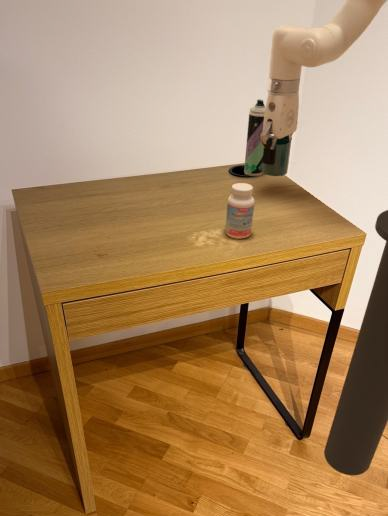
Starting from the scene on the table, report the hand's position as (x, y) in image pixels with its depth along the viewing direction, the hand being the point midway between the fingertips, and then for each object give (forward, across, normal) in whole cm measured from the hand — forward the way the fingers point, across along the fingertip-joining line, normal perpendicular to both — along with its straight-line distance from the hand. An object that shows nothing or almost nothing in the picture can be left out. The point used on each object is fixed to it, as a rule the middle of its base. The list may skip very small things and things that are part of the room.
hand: (275, 159), depth 131 cm
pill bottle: (+9, -28, -7) cm, 30 cm away
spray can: (+9, +9, +12) cm, 17 cm away
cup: (+3, 0, 0) cm, 3 cm away
